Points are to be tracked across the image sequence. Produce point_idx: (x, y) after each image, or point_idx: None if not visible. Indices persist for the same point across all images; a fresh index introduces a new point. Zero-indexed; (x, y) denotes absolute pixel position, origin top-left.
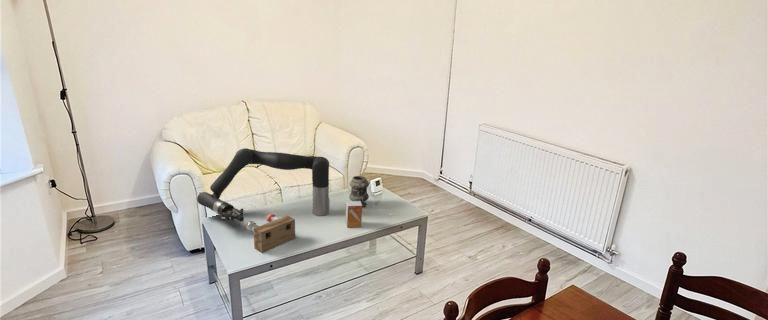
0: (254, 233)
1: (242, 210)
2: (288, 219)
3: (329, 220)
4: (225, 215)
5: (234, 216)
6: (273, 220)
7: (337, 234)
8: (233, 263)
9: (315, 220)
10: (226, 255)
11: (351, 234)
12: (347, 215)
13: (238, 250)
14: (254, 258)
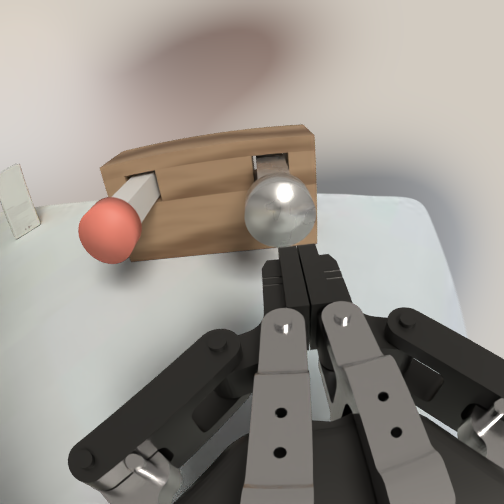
0: (314, 161)
1: (133, 406)
2: (136, 151)
3: (4, 264)
4: (500, 369)
5: (367, 324)
6: (138, 202)
7: (78, 213)
8: (417, 215)
9: (5, 284)
10: (439, 253)
11: (71, 205)
12: (27, 191)
13: (386, 260)
14: (345, 208)
